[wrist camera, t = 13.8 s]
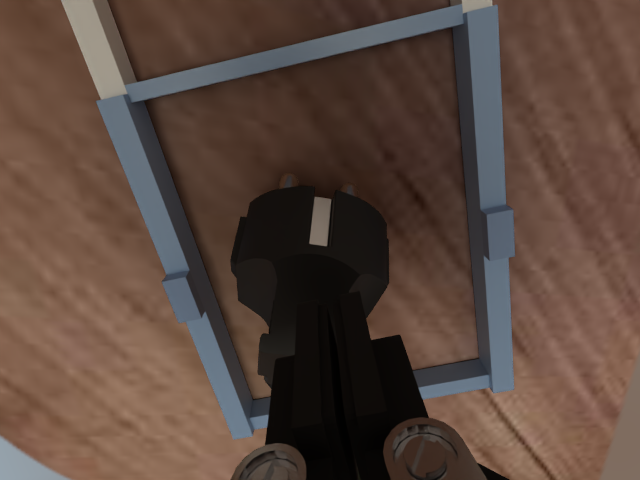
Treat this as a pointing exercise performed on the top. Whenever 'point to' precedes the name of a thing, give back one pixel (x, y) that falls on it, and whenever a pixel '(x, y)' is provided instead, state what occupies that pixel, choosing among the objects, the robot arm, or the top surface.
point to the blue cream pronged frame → (129, 95)
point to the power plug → (306, 258)
